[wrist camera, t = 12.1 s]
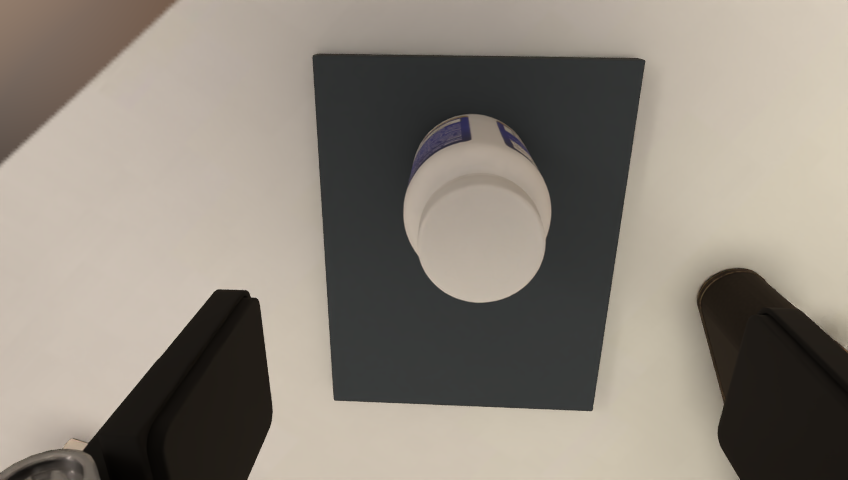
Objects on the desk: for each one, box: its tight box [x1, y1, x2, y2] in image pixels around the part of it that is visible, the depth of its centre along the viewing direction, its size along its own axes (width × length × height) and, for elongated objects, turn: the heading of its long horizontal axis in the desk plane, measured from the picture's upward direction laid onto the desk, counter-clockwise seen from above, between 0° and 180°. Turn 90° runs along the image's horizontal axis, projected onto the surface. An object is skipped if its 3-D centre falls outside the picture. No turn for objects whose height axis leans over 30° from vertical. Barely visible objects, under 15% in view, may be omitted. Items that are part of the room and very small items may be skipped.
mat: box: [313, 54, 645, 411], centre depth 27 cm, size 18×14×1 cm
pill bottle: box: [403, 114, 551, 303], centre depth 21 cm, size 5×5×9 cm
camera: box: [697, 268, 848, 404], centre depth 26 cm, size 16×7×8 cm, turn 23°
